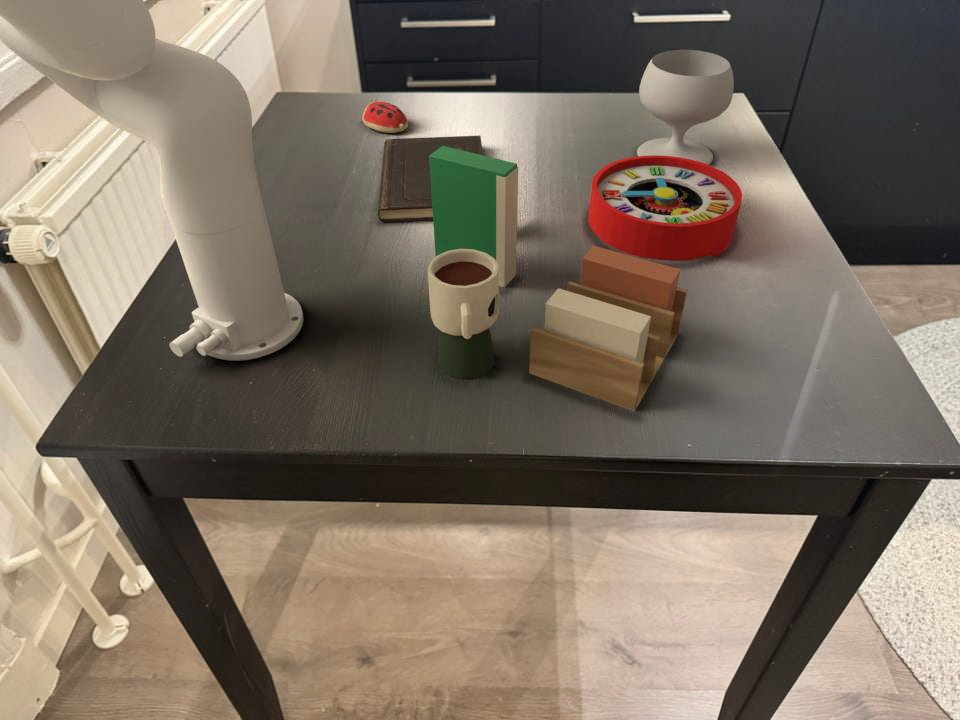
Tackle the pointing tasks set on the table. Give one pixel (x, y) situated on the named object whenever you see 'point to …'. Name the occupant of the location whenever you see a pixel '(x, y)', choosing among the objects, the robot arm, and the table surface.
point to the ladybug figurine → (384, 117)
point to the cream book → (597, 324)
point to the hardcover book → (413, 175)
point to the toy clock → (664, 207)
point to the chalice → (685, 98)
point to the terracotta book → (630, 277)
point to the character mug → (464, 310)
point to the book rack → (607, 353)
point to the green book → (475, 206)
